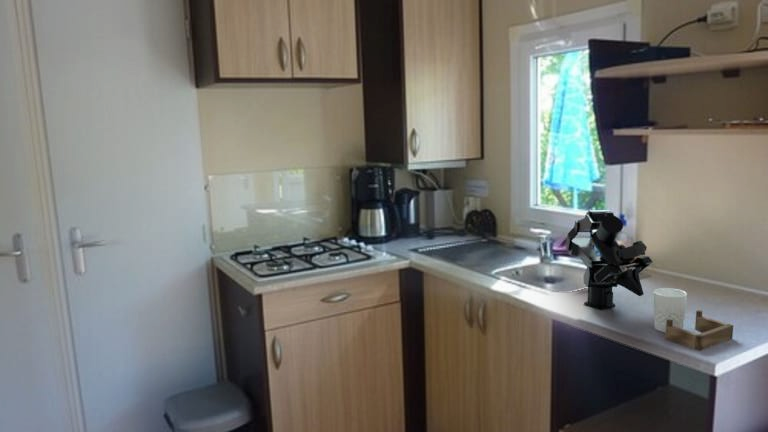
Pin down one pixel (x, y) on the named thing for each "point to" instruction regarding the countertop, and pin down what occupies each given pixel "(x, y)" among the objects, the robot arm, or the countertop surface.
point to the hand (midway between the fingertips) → (641, 295)
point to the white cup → (669, 307)
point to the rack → (711, 336)
